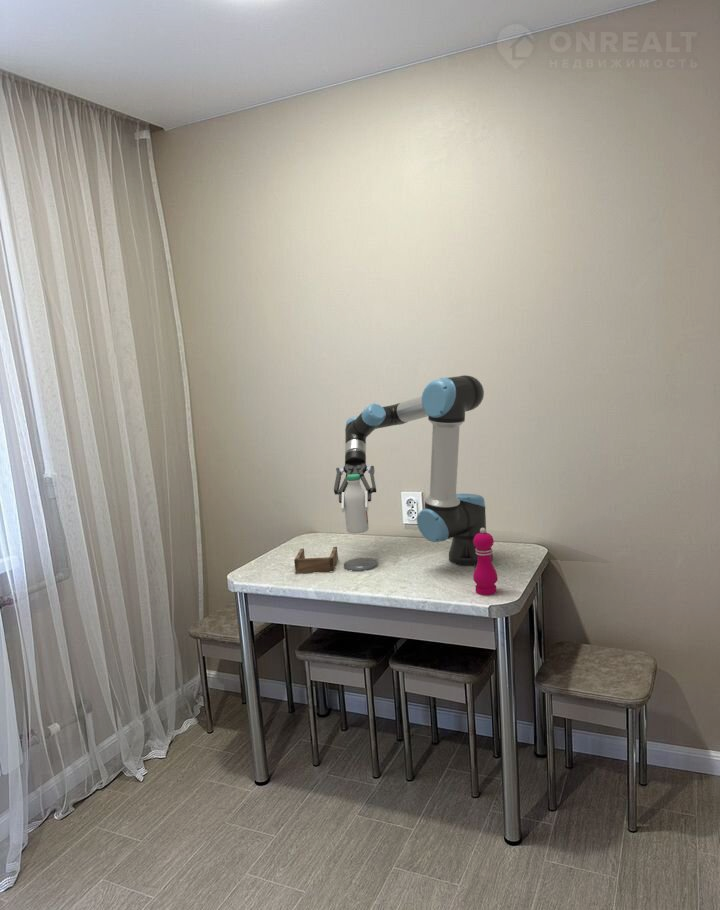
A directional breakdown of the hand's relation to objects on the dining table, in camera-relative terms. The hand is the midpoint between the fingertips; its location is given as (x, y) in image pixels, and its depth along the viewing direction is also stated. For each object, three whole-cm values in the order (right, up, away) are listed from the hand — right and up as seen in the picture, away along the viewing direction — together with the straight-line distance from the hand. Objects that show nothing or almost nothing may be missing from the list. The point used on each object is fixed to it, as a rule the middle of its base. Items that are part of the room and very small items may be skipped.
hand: (354, 509), depth 241 cm
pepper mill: (+40, -23, -28) cm, 54 cm away
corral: (-13, -21, +9) cm, 27 cm away
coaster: (+2, -20, +7) cm, 21 cm away
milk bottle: (+1, -8, +5) cm, 9 cm away
